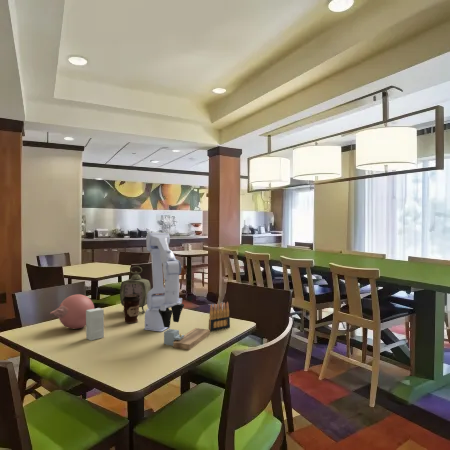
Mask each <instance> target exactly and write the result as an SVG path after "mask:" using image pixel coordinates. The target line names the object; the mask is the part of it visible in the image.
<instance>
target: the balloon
mask: <svg viewBox="0 0 450 450" xmlns="http://www.w3.org/2000/svg"><path fill="white" fill-rule="evenodd" d="M90 309H95V304H94V302H93V300H92V299H91V298H90V297H88V296H87V295H84V294H80V293H78V294H72V295H69V296H67V297H66V298H64V300H62V302H61V303H60V304H59V307H56V309H55V310H53V311H50V312H49V313H50V315H54V316H55V317H56V318H58V320H59V322H60V323H61V325H63V326H64V327H66V328H67V329H70V330H72V329H73V330H78V329H81V328H85V327H86V310H90Z"/></svg>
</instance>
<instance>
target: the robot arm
mask: <svg viewBox="0 0 450 450" xmlns="http://www.w3.org/2000/svg"><path fill="white" fill-rule="evenodd" d="M170 238H171V237H170V234H169V232H168V231H165V232H149V231H148V232H147V234H146V237H145V240H146V242H145V243H146V250H147V252H149V253H150V257H151V274H152V276H151V277H152V288H151V290H150V291H149V292H148V294H147V304H146V306H147V309H146V310H145V313H144V328H143V330H146V331H153V332H165V331H167V330H168V329H170V328H171V320H173V321H172V322H174V323H179V321H180V318H181V314H182V311H183V308H184V307H185V304H184V303H183V298H182V297H180V275H181V273H182V263H181V261H180V260H178V259H176V256H175V254H174V252H173V250H171V249H170V246H169V244H170V243H171V239H170Z"/></svg>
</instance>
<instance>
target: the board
mask: <svg viewBox="0 0 450 450" xmlns="http://www.w3.org/2000/svg"><path fill="white" fill-rule="evenodd" d="M183 335H184V338H182V339H181V340H176V341H175V342H173V346H172V347H173V348H176V349H180V350H181V349H182V350H192V349H193V348H194V347H195V346H196V345H198V344H199V343H200V342H201V341H203V340H205V339H206V338H207V337H208V336H210V335H211V331H210V330H209V328H208V329H207V328H206V329H205V328H199V327H193V329H191V330H190V331H189V332H187V333H185V334H183Z"/></svg>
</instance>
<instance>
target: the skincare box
mask: <svg viewBox="0 0 450 450" xmlns="http://www.w3.org/2000/svg"><path fill="white" fill-rule="evenodd" d="M104 310H105V309H103V308H101V307H97V308H94V309H90V310H86V326H85V334H86V336H85V338H86V340H88V341H95V340H98V339H104V337H105V332H104V331H105V329H104V328H105V327H104V326H105V325H104V324H105V321H104V320H105V319H104V317H105V316H104V315H105V313H104Z"/></svg>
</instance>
